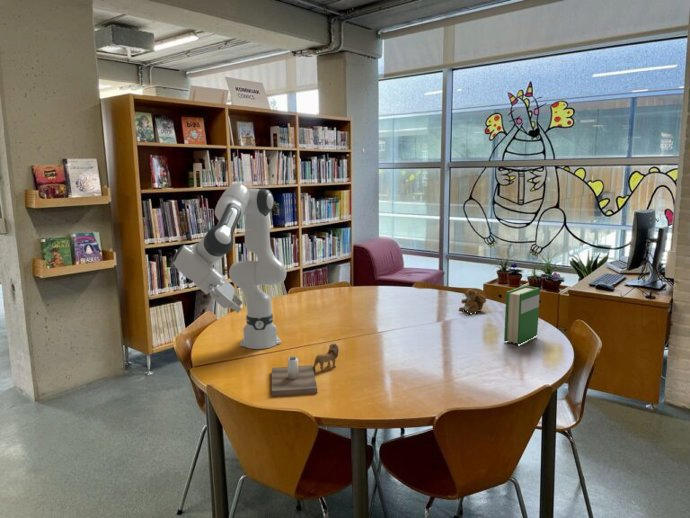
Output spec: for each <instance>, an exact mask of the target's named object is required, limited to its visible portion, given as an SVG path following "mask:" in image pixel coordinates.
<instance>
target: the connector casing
mask: <svg viewBox="0 0 690 518" xmlns="http://www.w3.org/2000/svg"><path fill="white" fill-rule="evenodd" d="M286 360H287V367H288V378H289V379H297V378H299V371H298V366H299V358H298V357H296V355H293V356H289V357H288V358H287V359H286Z"/></svg>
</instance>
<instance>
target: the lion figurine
mask: <svg viewBox="0 0 690 518" xmlns="http://www.w3.org/2000/svg"><path fill="white" fill-rule="evenodd" d="M339 352H340V351H339V345H338V344H337V343H333V342H332V343H331V344H330V345H329V348H328V351H327V352H326V353H319V354H317V355H316V356H315V359H314V363H313V364H312V366H313V371H314V374H315V373H316V371H317V369H316V367H317V365H318V364H319V367H320V368H319V369H320V370H321V371H322V372H324V373H325V372H326V369H324V364H325V363H327V366H328V367H331V362H332V367H333V368H337V365H335V364H336V359H337V358H338V356H339Z"/></svg>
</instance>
